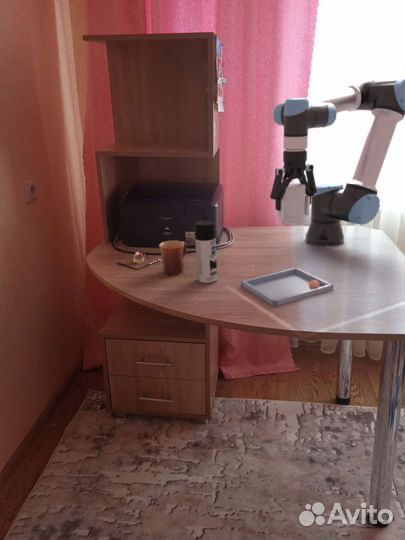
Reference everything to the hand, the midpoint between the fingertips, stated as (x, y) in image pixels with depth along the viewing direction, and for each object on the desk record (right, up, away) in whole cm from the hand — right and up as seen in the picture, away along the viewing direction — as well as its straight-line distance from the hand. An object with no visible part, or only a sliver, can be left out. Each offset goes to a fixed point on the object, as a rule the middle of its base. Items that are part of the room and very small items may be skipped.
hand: (293, 217), depth 159 cm
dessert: (-55, -16, +19) cm, 60 cm away
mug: (-40, -18, +10) cm, 45 cm away
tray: (-4, -24, -10) cm, 27 cm away
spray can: (-29, -21, 0) cm, 36 cm away
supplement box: (0, -2, +1) cm, 2 cm away
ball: (+4, -24, -13) cm, 28 cm away
